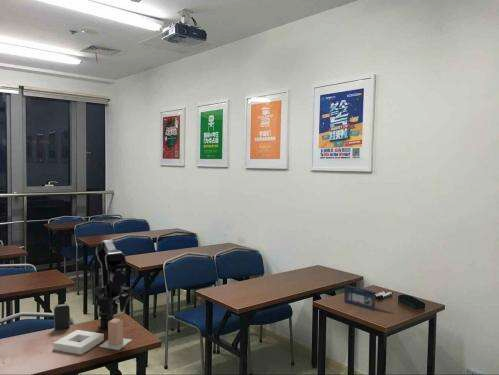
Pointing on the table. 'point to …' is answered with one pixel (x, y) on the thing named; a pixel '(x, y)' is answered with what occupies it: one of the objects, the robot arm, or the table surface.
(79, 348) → the dock
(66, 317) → the battery charger
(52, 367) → the table surface
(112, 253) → the robot arm
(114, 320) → the peg
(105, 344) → the mat
